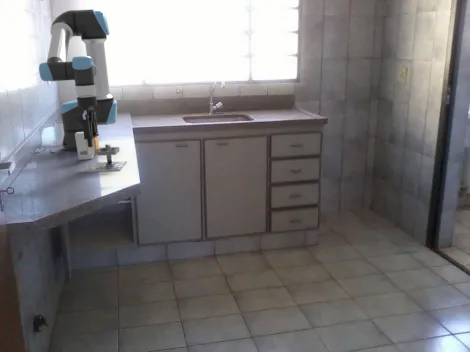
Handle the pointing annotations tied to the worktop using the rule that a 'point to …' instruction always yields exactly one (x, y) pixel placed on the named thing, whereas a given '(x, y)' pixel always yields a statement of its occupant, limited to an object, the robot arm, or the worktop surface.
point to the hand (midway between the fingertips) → (93, 153)
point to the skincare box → (81, 146)
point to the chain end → (102, 151)
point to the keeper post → (104, 164)
